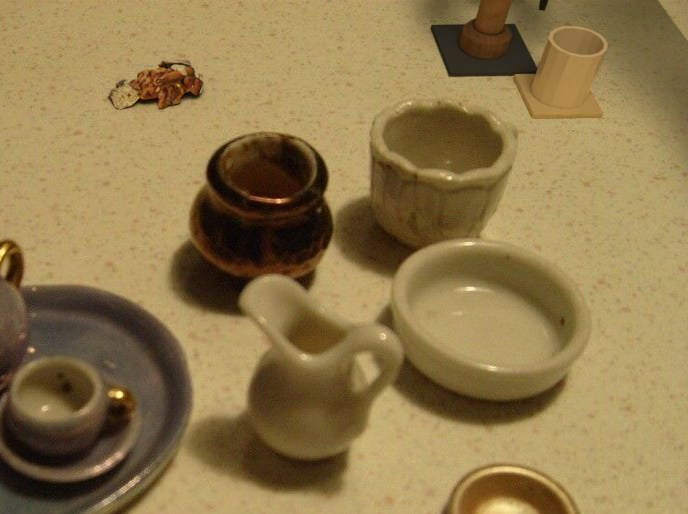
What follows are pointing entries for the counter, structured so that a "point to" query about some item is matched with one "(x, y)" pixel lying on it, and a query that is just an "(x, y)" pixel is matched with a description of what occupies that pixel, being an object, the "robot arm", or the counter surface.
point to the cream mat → (544, 111)
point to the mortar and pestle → (487, 31)
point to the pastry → (158, 85)
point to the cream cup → (568, 67)
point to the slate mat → (466, 65)
